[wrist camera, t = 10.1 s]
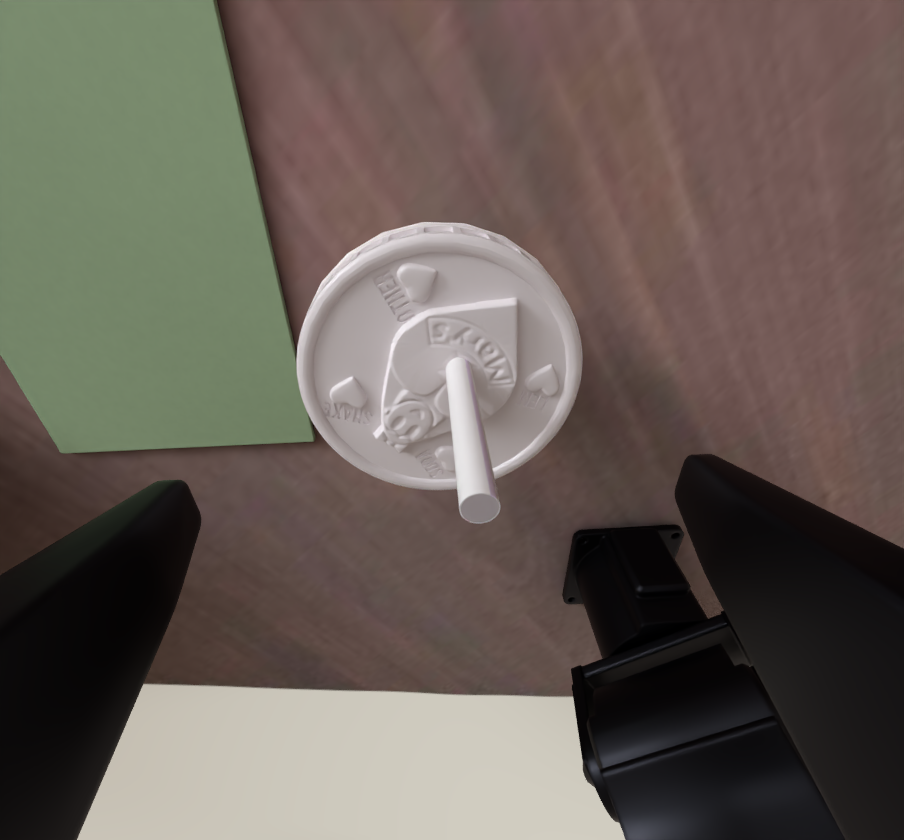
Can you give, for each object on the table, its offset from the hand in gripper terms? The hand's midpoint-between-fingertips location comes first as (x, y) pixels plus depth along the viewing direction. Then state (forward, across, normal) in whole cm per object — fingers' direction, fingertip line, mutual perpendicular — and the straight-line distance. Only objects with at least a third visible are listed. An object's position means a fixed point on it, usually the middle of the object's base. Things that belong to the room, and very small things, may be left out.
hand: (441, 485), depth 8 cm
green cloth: (+12, +12, -3) cm, 17 cm away
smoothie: (+12, 0, -1) cm, 12 cm away
